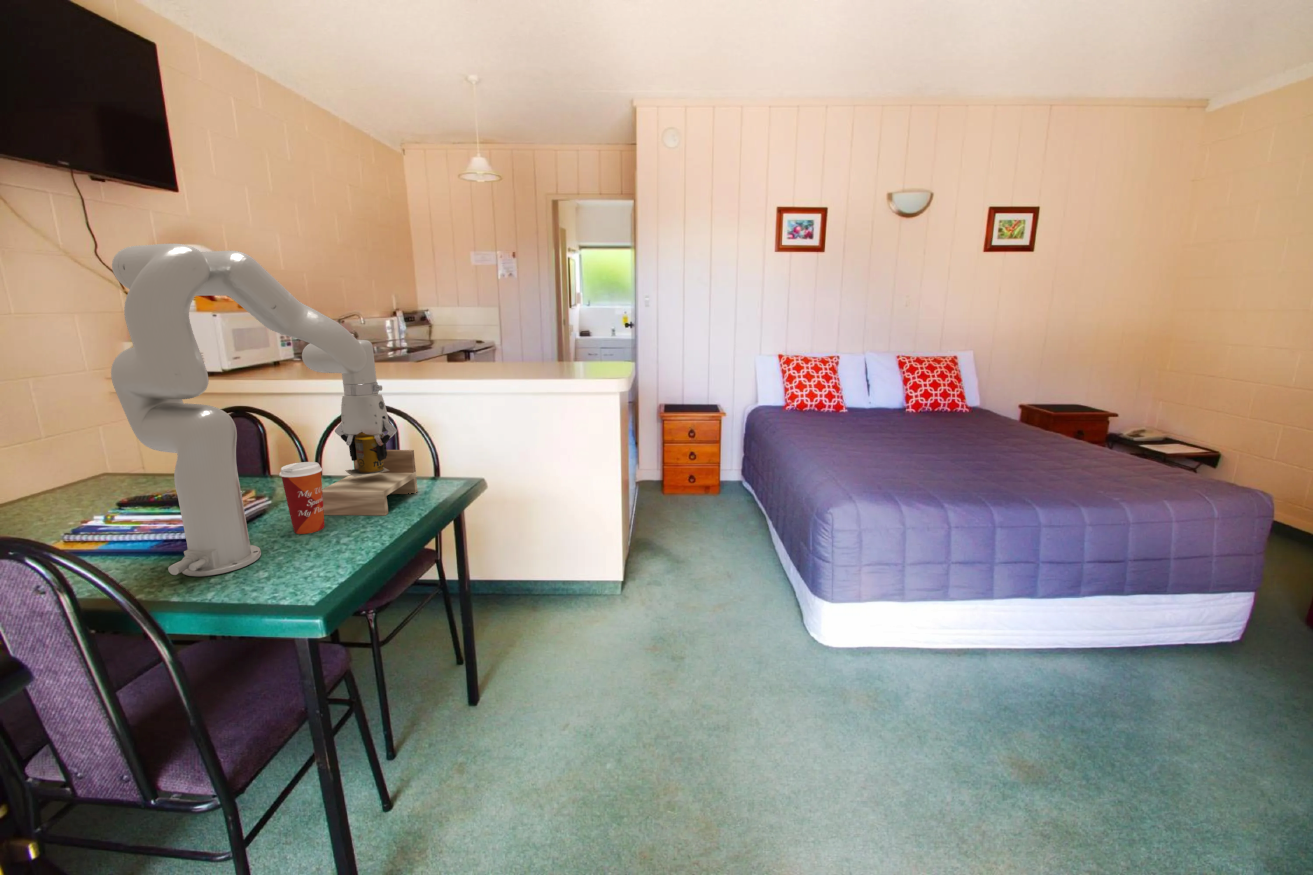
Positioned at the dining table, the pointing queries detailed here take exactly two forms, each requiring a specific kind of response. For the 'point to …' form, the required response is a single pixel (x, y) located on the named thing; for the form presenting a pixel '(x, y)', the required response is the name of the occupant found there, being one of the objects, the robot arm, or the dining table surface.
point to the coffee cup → (304, 496)
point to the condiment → (366, 456)
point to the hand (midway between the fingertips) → (369, 458)
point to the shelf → (372, 487)
